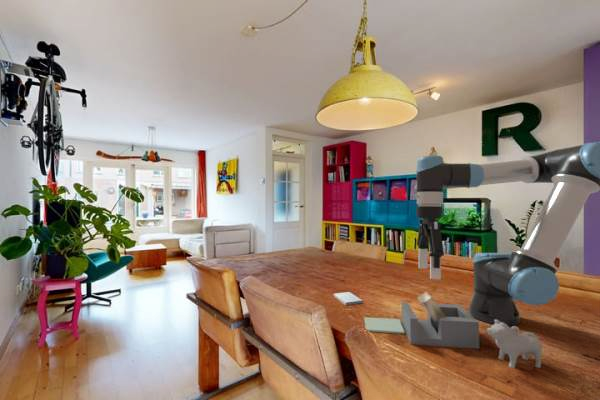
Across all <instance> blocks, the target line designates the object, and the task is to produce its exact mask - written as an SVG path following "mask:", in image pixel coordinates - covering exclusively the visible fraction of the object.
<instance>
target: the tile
mask: <svg viewBox="0 0 600 400" xmlns="http://www.w3.org/2000/svg"><path fill="white" fill-rule="evenodd" d="M418 297H419V298H420V299H421V300H422V302H423V303H424V305H425V306H426V307H427V309H428V310H429V311H430V313H431V314H432V315H433V317H434V318H435V319H436V321H437V322H438V316H445V315H444V313H443V312H442V311H441V309H440V308H439V307H438V305H437V304H438V303H436V301H435V300H434V298H432V296H431V295H430V294H429V292H428V291H424V292H423V293H421V294H420V295H418ZM445 317H446V316H445Z"/></svg>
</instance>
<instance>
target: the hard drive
mask: <svg viewBox="0 0 600 400" xmlns="http://www.w3.org/2000/svg"><path fill="white" fill-rule="evenodd" d="M333 297H334V298H335V299H337V300H339V301H340V302H341V303H342V304H343V305H345V306H350V305H357V304H358V305H359V304H364V300H362V299H361V298H360V297H358V296H357V295H355V294H354V293H352V292H350V291H345V292H337V293H333Z"/></svg>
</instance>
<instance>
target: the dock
mask: <svg viewBox="0 0 600 400" xmlns="http://www.w3.org/2000/svg"><path fill="white" fill-rule="evenodd" d="M436 304H437V305H438V307H439V308H440V309H441V311H442V312H443V313H444V315H445V316H446V317H445V316H438V325H437V324H436V323H435V321H434V320H433V319H432V317H431V316H430V314H429V313H428V312H427V319H423V318H421V319H420V318H418V317H417V316H416V314H415V312H414V311H413V309H412V307H411V306H410V304H409V302H405V301H401V325H402V327H403V329H404V332H405V334H406V337H407V339H408V341H409V345H417V346H418V345H419V346H431V347H432V346H433V347H447V348H461V349H462V348H463V349H473V350H474V349H475V350H480V321H479V320H478V319H476V318H474V317H473V316H471V315H470V314H469V311H467V310H466V308H464V307H463V306H462V305H461V304H450V303H449V304H448V303H436Z"/></svg>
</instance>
